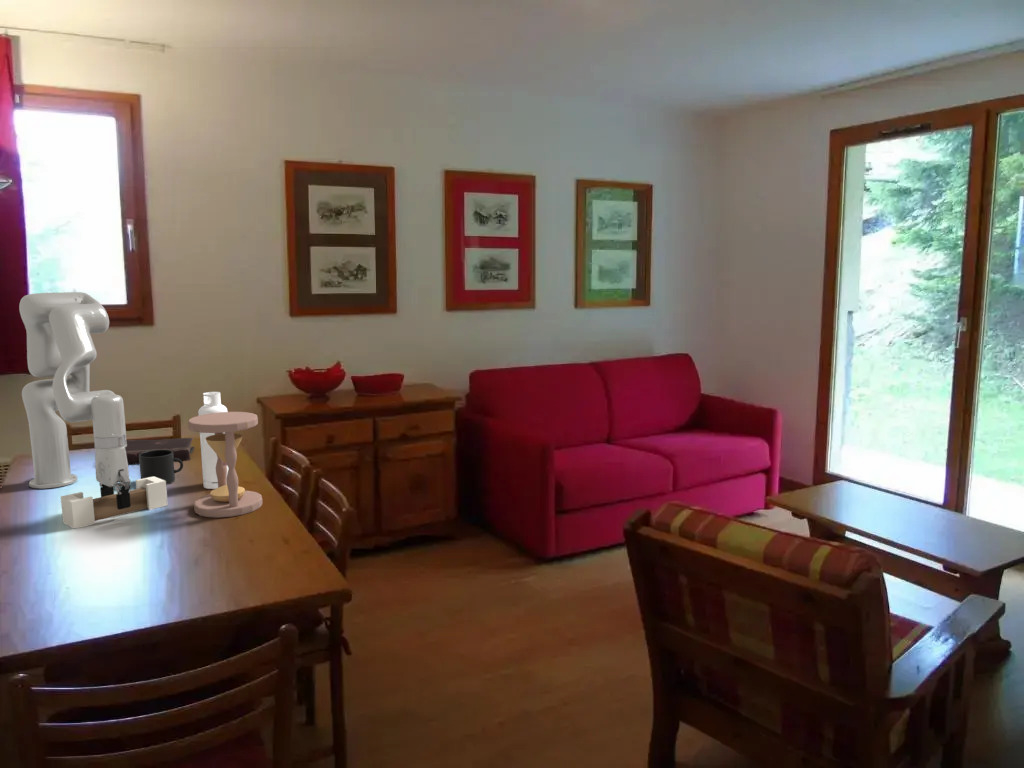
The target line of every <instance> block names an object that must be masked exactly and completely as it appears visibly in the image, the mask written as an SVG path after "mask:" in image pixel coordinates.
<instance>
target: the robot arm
mask: <svg viewBox="0 0 1024 768" xmlns="http://www.w3.org/2000/svg"><path fill="white" fill-rule="evenodd" d="M18 306H19V307H18V308H19V314H20V318H21V320H22V323H23V325H24V329H25V330H26V331H25V332H26V351H27V352H26V359H27V369H28V371H29V374H30V375H32V376H33V377H37V378H49V379H39V380H35V381H32V382H31V381H30V382H29V383H27V384H25V385H24V387H22V390H21V397H22V398H21V399H22V402H23V406H24V409H25V411H26V416H27V421H28V430H29V436H30V446H31V447H30V448H31V457H32V466H33V474H34V475H33V477H34V478H33V479H31V480H30V481H29V482H28V486H29V488H31V489H41V490H42V489H53V488H54V489H55V488H60V487H65V486H69V485H72V484H74V483H76V482H77V481H78V476H77V474H73V473H72V471H71V461H70V460H71V458H70V450H69V440H68V439H69V438H68V430H67V424H66V423H79V422H85V421H91V420H92V428H93V429H92V431H93V441H94V450H95V455H94V457H95V459H94V460H95V462H94V464H95V479H96V481H97V483H99V488H100V497H104V496H108V495H113V494H115V491H116V494H117V493H118V494H117V495H116V499H117V509H119V510H120V509H124V508H128V507H130V506H131V503H130V491H131V479H130V470H129V465H128V462H127V456H126V450H125V447H126V446H127V430H126V417H125V406H124V405H125V404H124V399H123V397H122V396H121V395H119V394H115V392H114V391H112V390H109V389H102V390H92V391H90V382H91V381H90V377H91V376H90V374H91V373H90V372H91V371H90V367H91V363H93V362H94V361H95V359H97V355H98V352H97V349H96V347H95V344H94V341H93V337H92V336H91V335H93V334H103V333H106V331H108V329H109V326H110V319H109V315H108V314H109V313H107V310H106V308H105V307H104V306H103V305H102V304H101V303H100V301H98V300H97V299H95V298H94V297H92V296H91V295H90V294H88V293H86V292H80V291H79V292H77V291H73V292H72V291H71V292H70V291H67V292H65V291H64V292H38V293H37V292H35V293H31V294H30V293H29V294H27V295H24V296H23V297H22V298H21V299H20V302H19V305H18ZM51 377H53V378H51ZM56 412H58V413H59V415H60V416H59V415H58V414H57V413H56ZM114 488H115V489H114Z"/></svg>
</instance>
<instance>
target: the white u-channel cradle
mask: <svg viewBox="0 0 1024 768" xmlns="http://www.w3.org/2000/svg"><path fill="white" fill-rule="evenodd" d="M135 487H136V488H135V489H140V488H143V487H144V488H146V493H147V505H148V508H147V510H149V511H151V510H154V509H155V510H156V509H159V508H162V507H167V506H168V505H169V503H168V494H167V493H168V492H167V485H166V481H165V480H162V479H160V478H157V477H154V476H153V477H148V478H144V479H141V478H140V479H135ZM93 499H94V498H93V496H87V497H84V492H82V491H79V492H75V493H70V494H65V495H61V496H60V503H61V504H60V505H61V513H62V514H61V515H62V522H63V524H65V525H67V526H69V527H71V528H73V529H79V528H81V527H82V528H83V527H85V526H86V527H87V526H90V525H94V524H96V521H95V518H94V507H93Z"/></svg>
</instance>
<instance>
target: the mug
mask: <svg viewBox="0 0 1024 768" xmlns="http://www.w3.org/2000/svg"><path fill="white" fill-rule="evenodd" d="M175 462H178V463H179V465H180V466H179V468H177V469H175ZM183 462H184V461H181V460H180V459H178V458H173V451H171V450H152V451H147V452H143V453H141V454H139V463H140V464H139V473H140V479H144V478H148V477H153V476H154V477H157V478H160V479H162V480H165V481H166V486H167V485H170V484H172V483H174V482H175V481H176V475H175V474H177V473H179V472H181V471H182V470H183V468H184V463H183Z"/></svg>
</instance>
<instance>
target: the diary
mask: <svg viewBox="0 0 1024 768" xmlns="http://www.w3.org/2000/svg"><path fill="white" fill-rule="evenodd" d="M126 440H127V439H126ZM193 440H194V437H181V438H179V437H178V438H166V439H163V438H162V439H129V440H127V446H126V447H125V450H126V456H127V462H128V466H130V465H140V463H139V454H141V453H143V452H147V451H152V450H171V451H173V458H178V459H180V460H181V461H182V462H185V461H190V460H191V456H190V455H192V454H193V452H194V450H195V446H192V442H193Z"/></svg>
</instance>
